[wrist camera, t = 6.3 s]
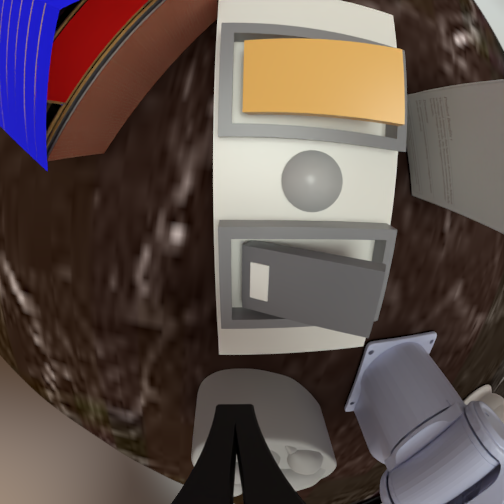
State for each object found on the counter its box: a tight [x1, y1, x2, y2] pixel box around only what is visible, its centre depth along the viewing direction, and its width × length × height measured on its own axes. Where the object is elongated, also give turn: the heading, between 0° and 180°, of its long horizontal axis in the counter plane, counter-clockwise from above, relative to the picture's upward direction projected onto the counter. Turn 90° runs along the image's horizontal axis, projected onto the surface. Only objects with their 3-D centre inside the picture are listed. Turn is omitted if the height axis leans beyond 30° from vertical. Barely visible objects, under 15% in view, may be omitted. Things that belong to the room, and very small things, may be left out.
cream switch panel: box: [213, 0, 407, 355], centre depth 15 cm, size 22×10×4 cm, turn 179°
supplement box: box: [406, 79, 504, 234], centre depth 10 cm, size 7×7×13 cm
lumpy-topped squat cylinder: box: [191, 369, 336, 496], centre depth 20 cm, size 10×13×9 cm
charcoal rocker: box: [242, 240, 386, 338], centre depth 14 cm, size 4×7×1 cm, turn 89°
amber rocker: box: [242, 38, 405, 126], centre depth 10 cm, size 4×7×1 cm, turn 89°
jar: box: [463, 385, 504, 424], centre depth 23 cm, size 11×10×15 cm
